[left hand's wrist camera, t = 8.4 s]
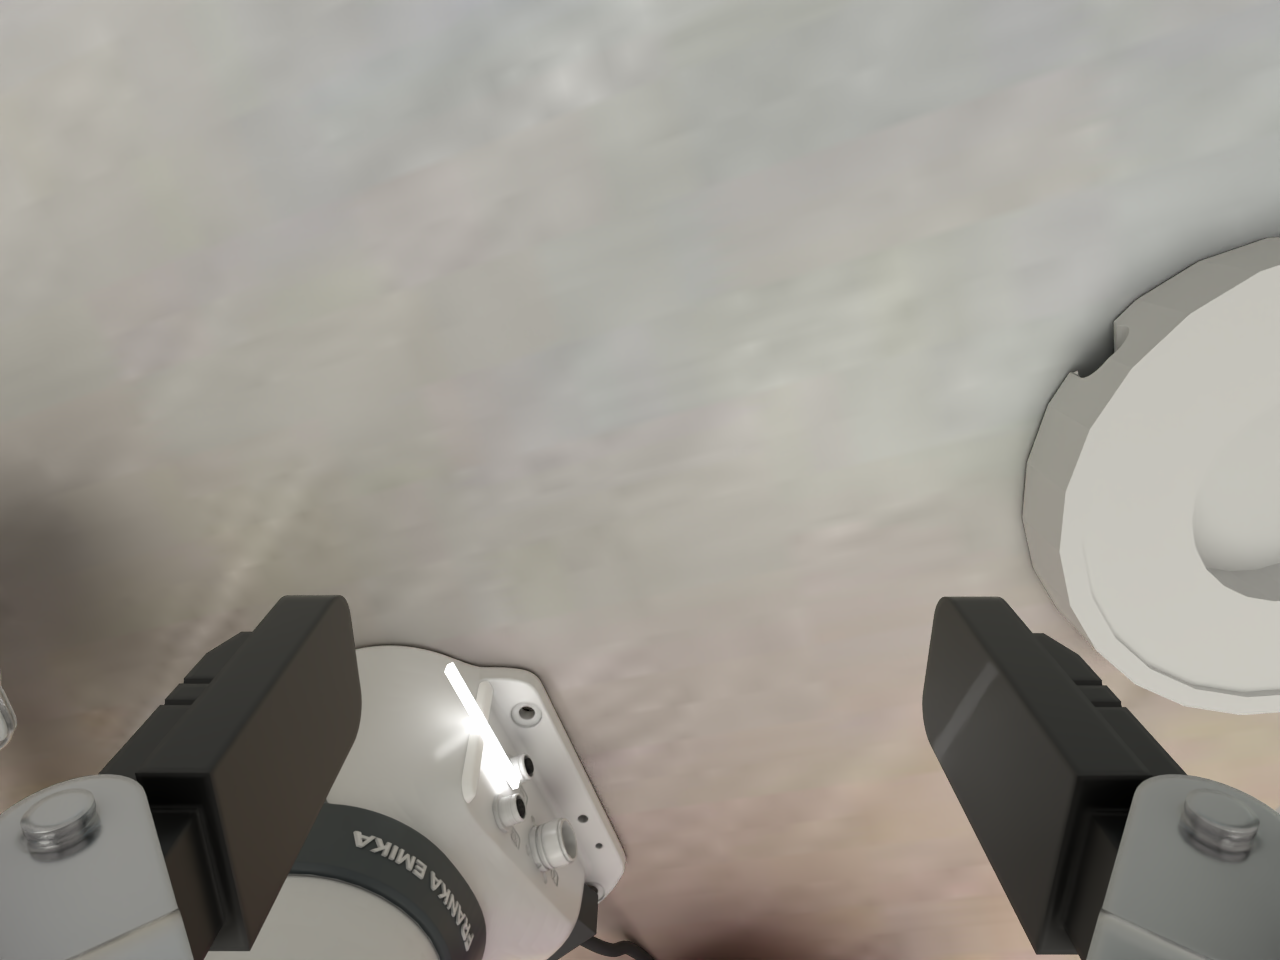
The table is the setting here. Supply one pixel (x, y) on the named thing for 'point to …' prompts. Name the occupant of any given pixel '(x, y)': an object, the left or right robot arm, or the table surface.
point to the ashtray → (1173, 489)
